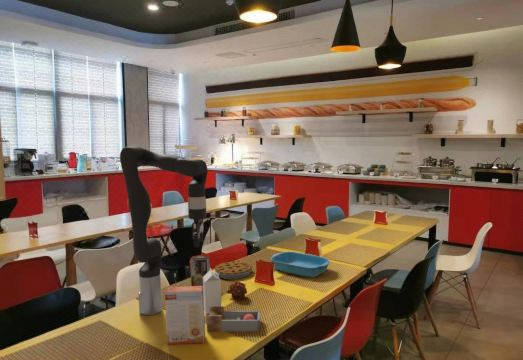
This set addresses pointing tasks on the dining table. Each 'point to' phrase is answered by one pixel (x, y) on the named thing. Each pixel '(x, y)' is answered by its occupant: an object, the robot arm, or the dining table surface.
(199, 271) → the coffee box
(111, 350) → the dining table surface
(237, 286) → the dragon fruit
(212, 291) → the milk carton
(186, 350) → the dining table surface
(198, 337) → the cracker box
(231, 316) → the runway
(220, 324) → the ramp
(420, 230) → the dining table surface
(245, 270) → the pie
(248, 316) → the ball
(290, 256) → the casserole dish
